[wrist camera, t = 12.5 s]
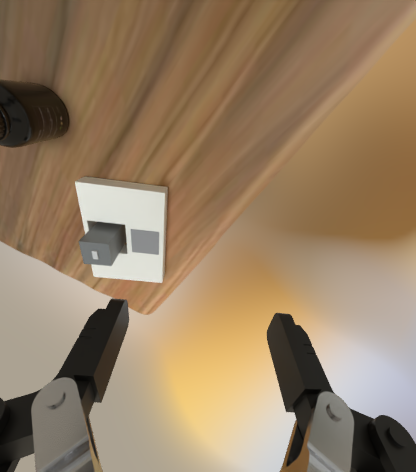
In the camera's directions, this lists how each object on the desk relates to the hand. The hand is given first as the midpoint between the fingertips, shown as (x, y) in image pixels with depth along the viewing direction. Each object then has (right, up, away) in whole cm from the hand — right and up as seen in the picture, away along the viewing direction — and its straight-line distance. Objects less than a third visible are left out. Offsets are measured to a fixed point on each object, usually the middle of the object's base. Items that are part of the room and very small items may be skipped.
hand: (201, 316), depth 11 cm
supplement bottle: (-23, +22, +19) cm, 37 cm away
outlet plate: (-15, +5, +30) cm, 34 cm away
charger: (-18, +6, +29) cm, 35 cm away
